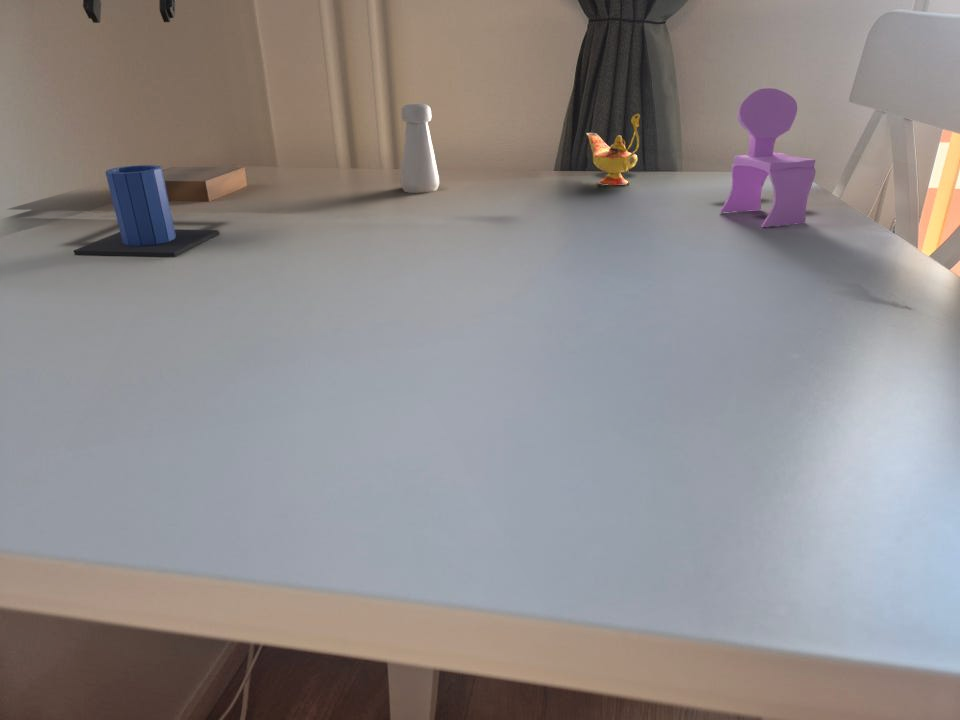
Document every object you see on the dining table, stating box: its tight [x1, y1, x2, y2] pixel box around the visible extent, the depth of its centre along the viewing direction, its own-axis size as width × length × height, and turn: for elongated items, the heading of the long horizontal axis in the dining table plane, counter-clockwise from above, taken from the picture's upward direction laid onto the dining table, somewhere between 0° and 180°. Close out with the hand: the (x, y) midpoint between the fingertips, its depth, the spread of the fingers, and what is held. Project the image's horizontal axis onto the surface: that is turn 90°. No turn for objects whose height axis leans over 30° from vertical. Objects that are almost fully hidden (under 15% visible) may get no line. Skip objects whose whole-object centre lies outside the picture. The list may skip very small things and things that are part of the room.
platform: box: [162, 166, 248, 203], centre depth 101 cm, size 12×12×4 cm
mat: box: [73, 228, 220, 258], centre depth 79 cm, size 12×10×1 cm
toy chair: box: [719, 87, 816, 228], centre depth 81 cm, size 8×9×15 cm
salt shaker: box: [399, 103, 440, 194], centre depth 98 cm, size 6×6×13 cm
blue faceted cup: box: [105, 164, 176, 246], centre depth 77 cm, size 6×6×8 cm
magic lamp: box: [585, 112, 641, 185], centre depth 107 cm, size 7×18×11 cm, turn 15°
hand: (129, 17), depth 86 cm, fingers open, 8 cm apart
